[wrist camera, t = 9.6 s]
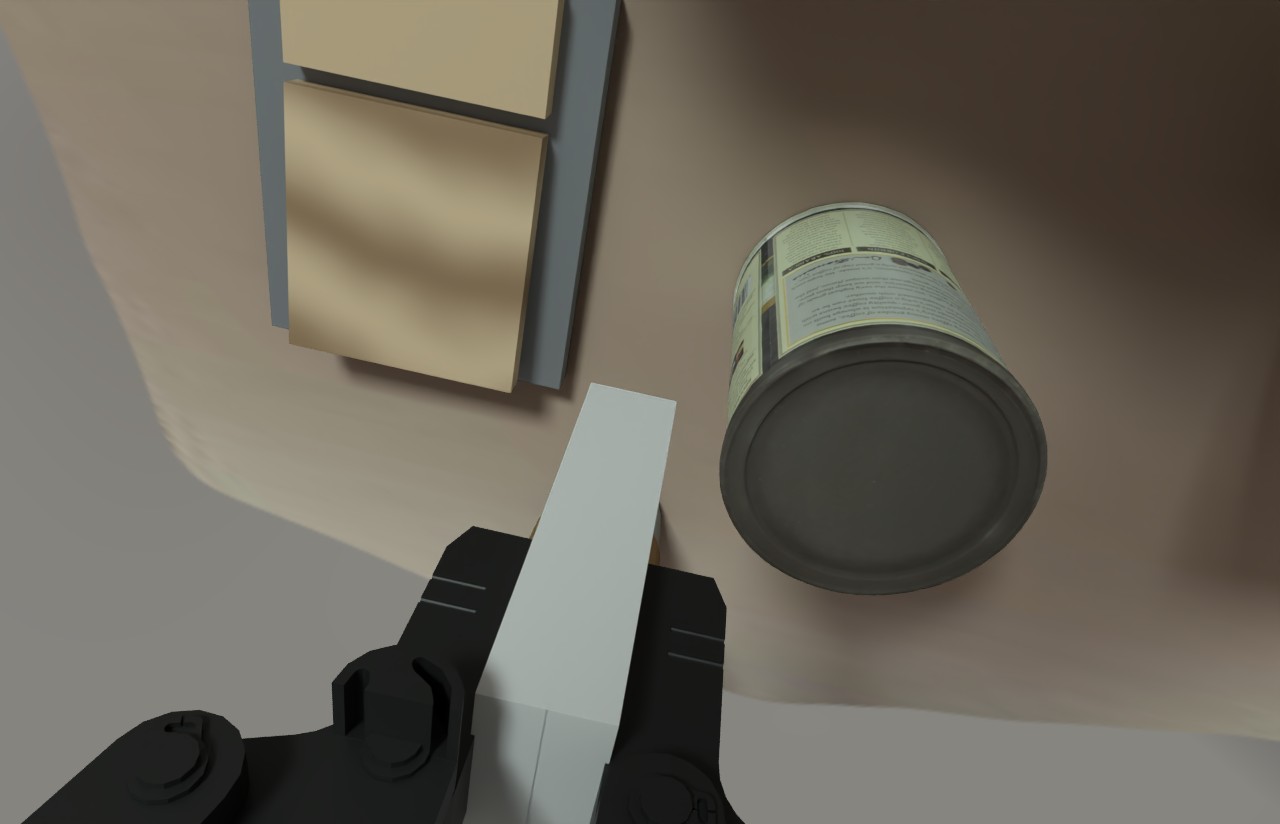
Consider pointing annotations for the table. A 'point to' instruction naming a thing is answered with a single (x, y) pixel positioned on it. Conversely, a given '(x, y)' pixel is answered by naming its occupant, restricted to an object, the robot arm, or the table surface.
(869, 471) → the coffee can
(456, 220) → the plank
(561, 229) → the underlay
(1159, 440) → the table surface
